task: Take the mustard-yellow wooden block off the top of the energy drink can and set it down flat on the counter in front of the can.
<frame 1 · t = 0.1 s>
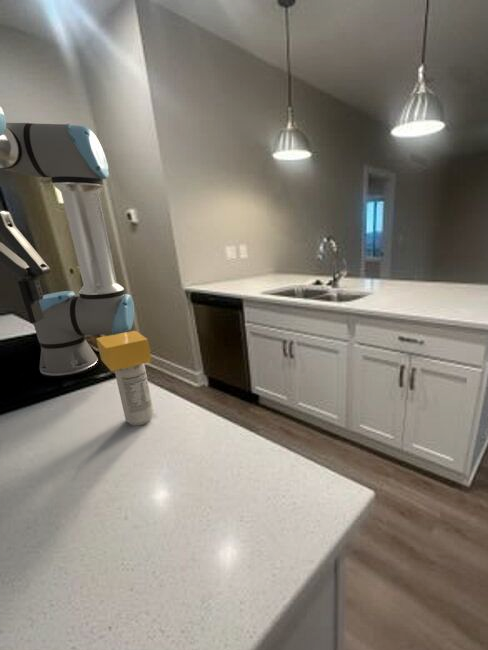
energy drink can: (140, 420, 80), on the counter, touching block
block: (126, 360, 74), point 15 cm above the counter, touching energy drink can
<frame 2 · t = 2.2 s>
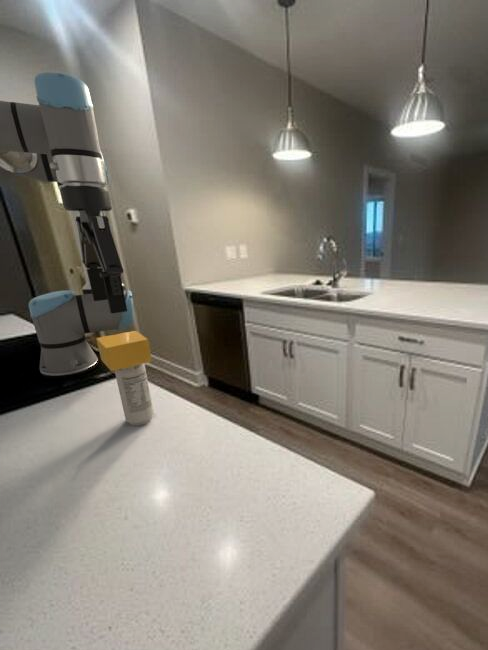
hand: (109, 305, 68), 27 cm above the counter, tool pointing down, fingers open, 13 cm apart
nothing on the counter moved.
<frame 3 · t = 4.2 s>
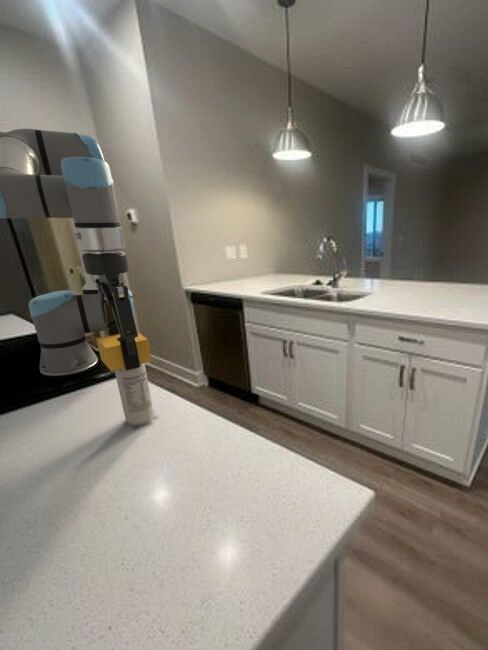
hand: (126, 361, 74), 15 cm above the counter, tool pointing down, fingers closed on block, 8 cm apart
block: (126, 360, 74), point 15 cm above the counter, touching energy drink can, gripper
everything else where it was.
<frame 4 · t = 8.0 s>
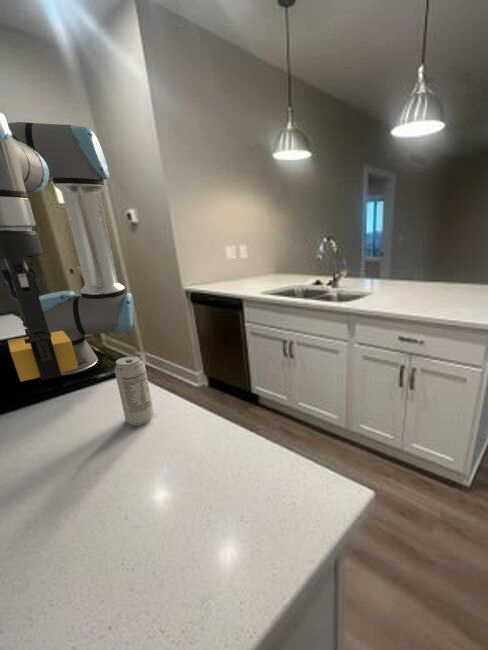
hand: (47, 369, 60), 19 cm above the counter, tool pointing down, fingers closed on block, 8 cm apart
energy drink can: (140, 420, 80), on the counter
block: (47, 367, 60), point 19 cm above the counter, touching gripper
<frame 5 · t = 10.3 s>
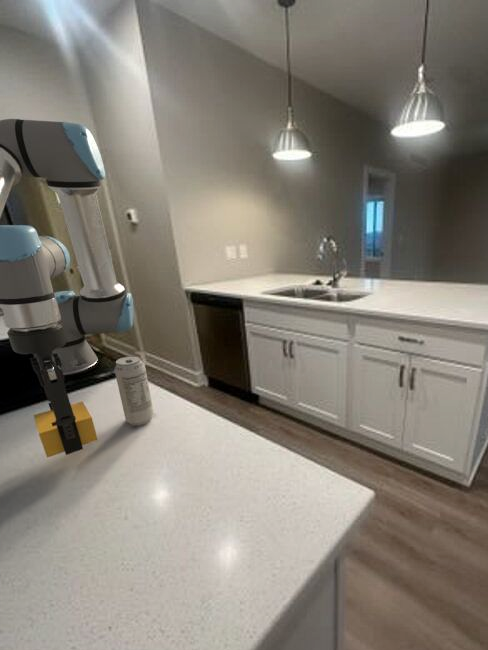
hand: (69, 440, 65), 4 cm above the counter, tool pointing down, fingers closed on block, 8 cm apart
block: (69, 438, 65), point 5 cm above the counter, touching gripper
everything else where it was.
when the fingers open (0 cm above the counter, at t = 11.9 s): block stays where it is, on the counter.
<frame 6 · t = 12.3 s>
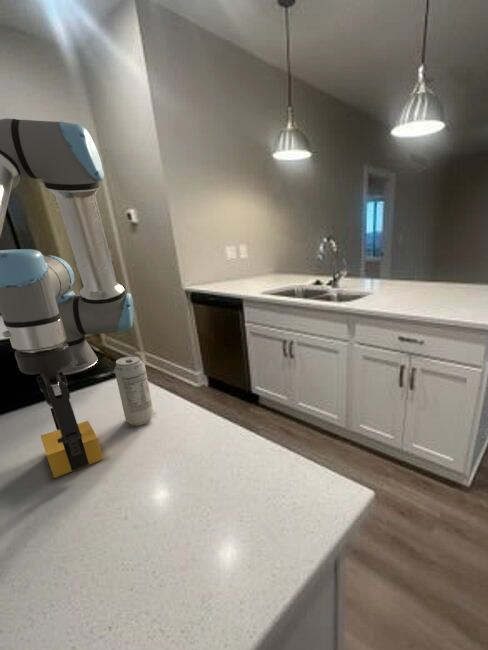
hand: (73, 449, 66), 2 cm above the counter, tool pointing down, fingers open, 12 cm apart
block: (75, 458, 67), on the counter
everything else where it was.
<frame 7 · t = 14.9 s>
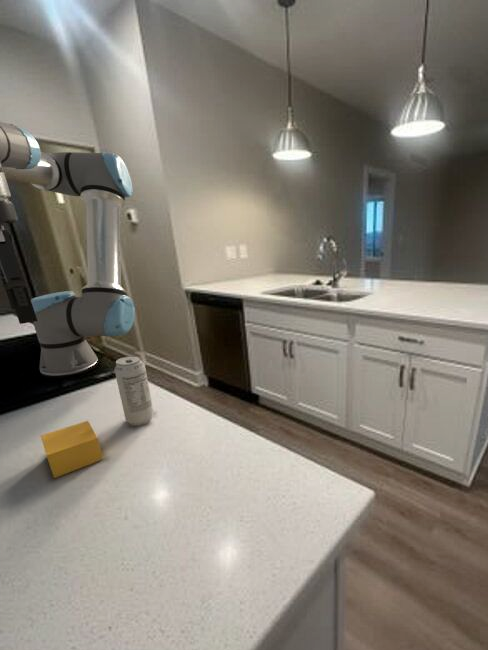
hand: (24, 314, 70), 25 cm above the counter, tool pointing down, fingers open, 13 cm apart
nothing on the counter moved.
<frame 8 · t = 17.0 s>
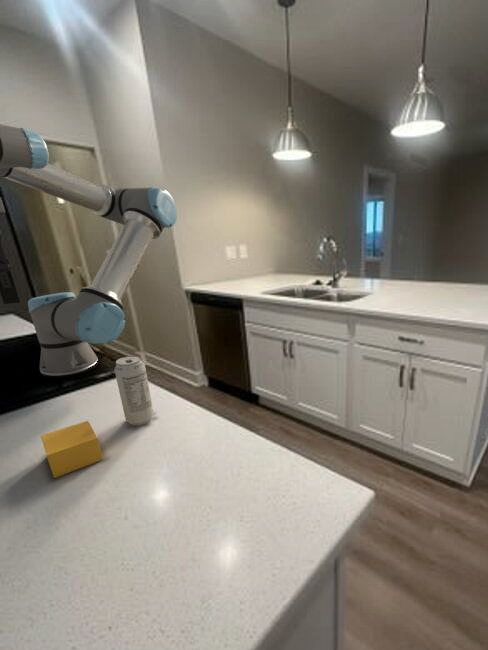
hand: (10, 298, 78), 27 cm above the counter, tool pointing down, fingers open, 13 cm apart
nothing on the counter moved.
at the end: block inside the target area (0.0 cm from its centre), on the counter; block tilted 0°; energy drink can tilted 0° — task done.
